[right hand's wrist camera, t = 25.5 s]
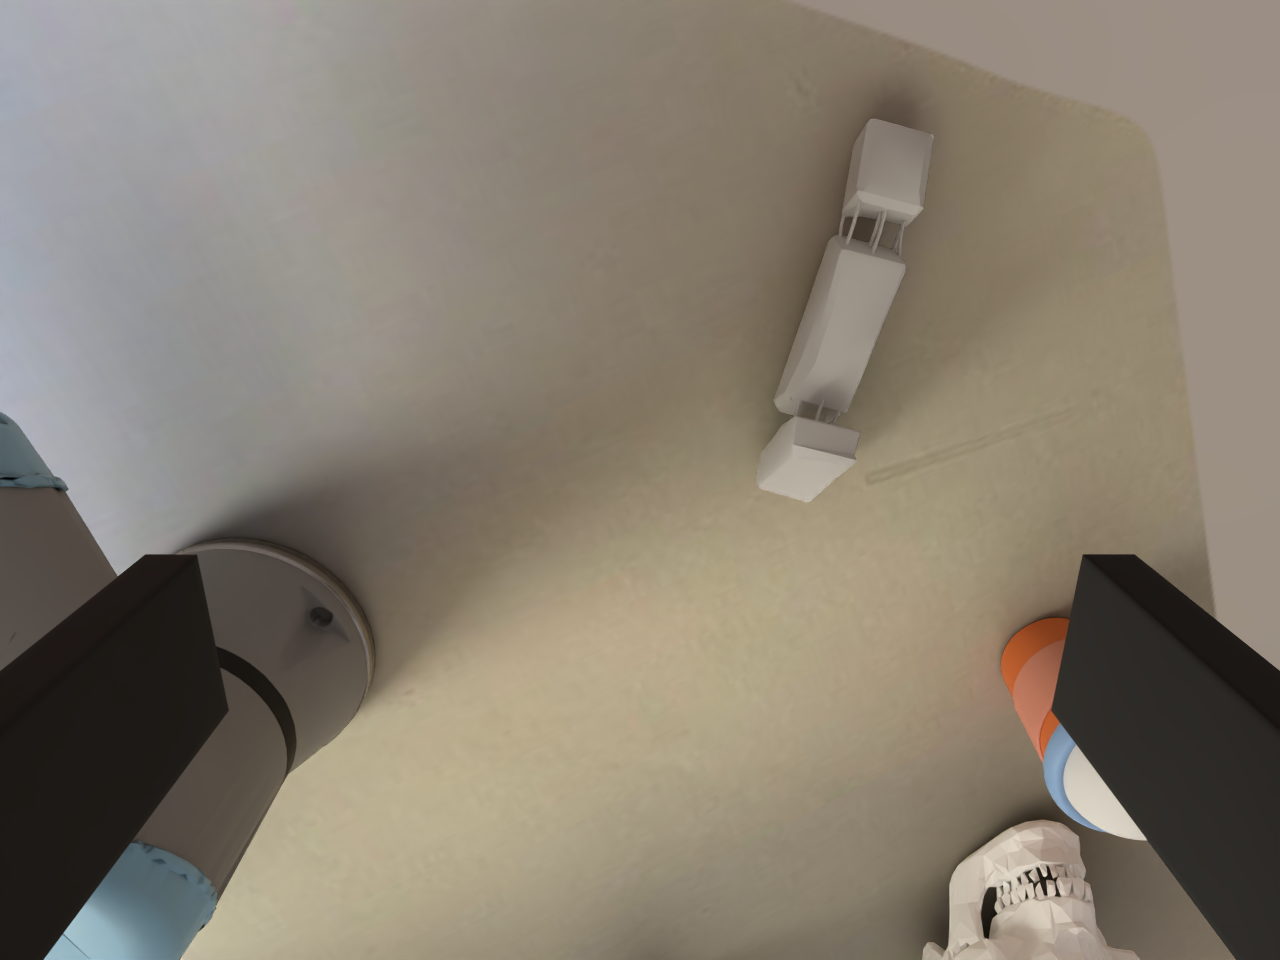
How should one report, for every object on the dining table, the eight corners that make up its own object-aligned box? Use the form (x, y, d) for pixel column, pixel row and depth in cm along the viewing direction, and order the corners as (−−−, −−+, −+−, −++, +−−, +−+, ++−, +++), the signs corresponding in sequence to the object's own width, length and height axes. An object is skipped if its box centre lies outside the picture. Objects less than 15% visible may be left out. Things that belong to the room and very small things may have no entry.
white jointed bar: (808, 495, 50) (838, 532, 44) (748, 481, 50) (768, 517, 43) (916, 144, 45) (967, 126, 39) (849, 126, 45) (890, 105, 38)
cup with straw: (1129, 592, 53) (1356, 793, 36) (1108, 713, 56) (1308, 950, 40) (983, 599, 53) (1141, 802, 36) (971, 719, 57) (1111, 958, 40)
